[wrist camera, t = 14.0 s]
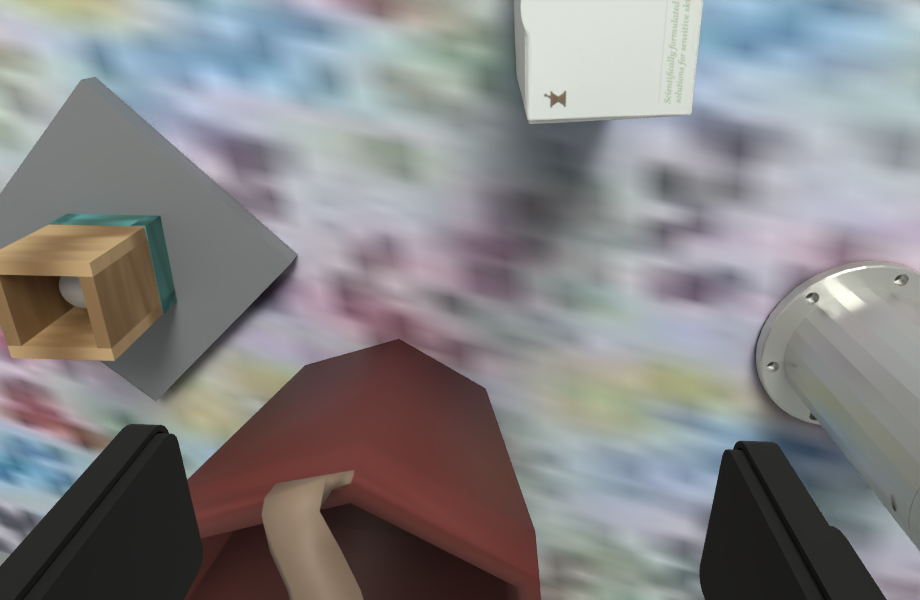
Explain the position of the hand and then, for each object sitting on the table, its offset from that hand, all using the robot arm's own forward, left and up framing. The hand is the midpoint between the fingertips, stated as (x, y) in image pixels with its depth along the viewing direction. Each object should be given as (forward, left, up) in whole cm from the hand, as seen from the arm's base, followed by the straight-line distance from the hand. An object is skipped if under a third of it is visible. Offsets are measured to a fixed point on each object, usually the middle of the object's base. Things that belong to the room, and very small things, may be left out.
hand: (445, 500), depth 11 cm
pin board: (+11, +22, -32) cm, 40 cm away
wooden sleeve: (+11, +22, -30) cm, 39 cm away
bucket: (-12, +20, -32) cm, 40 cm away
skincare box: (+2, -9, -32) cm, 33 cm away
